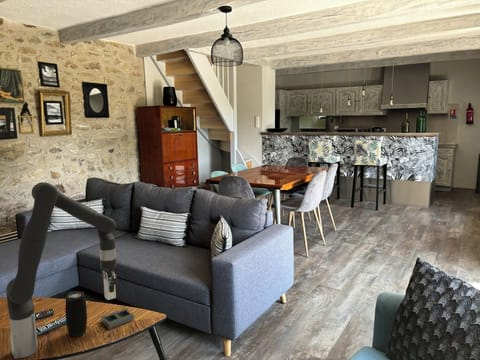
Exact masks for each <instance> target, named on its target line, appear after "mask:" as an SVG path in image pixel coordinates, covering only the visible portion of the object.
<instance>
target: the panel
mask: <svg viewBox="0 0 480 360" xmlns="http://www.w3.org/2000/svg"><path fill="white" fill-rule="evenodd" d="M133 321H135V314H133V313H131V312H130V311H129V309H127V308H122V309H119V310H116V311H114V312H110V313H108V314H104V315H102V316H100V322H101V323H102V324H103V325H104V326H105V327H106V328H107V329H109V330H112V329H114V328H116V327H119V326H122V325H125V324H127V323H129V322H133Z"/></svg>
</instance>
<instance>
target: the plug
mask: <svg viewBox="0 0 480 360" xmlns="http://www.w3.org/2000/svg"><path fill="white" fill-rule="evenodd" d="M109 279H111V278H109ZM110 282H111V281H110ZM116 283H118V282H117V281H116ZM103 291H104V298H105V299H106V300H107V301H109V300H113V299H116V298H117V294H116V293H117V292H116V284H115V285H114V292H111V293H110V292H109V281H107V278H104V280H103Z"/></svg>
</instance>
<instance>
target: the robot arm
mask: <svg viewBox="0 0 480 360" xmlns="http://www.w3.org/2000/svg"><path fill="white" fill-rule="evenodd" d="M31 196H32V199H33V200H34V202H33V208H32V212H31V215H30V219H29V220H28V222H27V224H26V225H25V227H24V230H23V232H22V235H21V239H20V243H19V247H18V256H17V257H18V259H17V272H16V275H15V277H14V278H12V279H11V280H9V282H8V283H7V285H6V289H5V291H6V293H5V294H6V302H7V303H6V304H7V309H8V310H7V311H8V315H9V323H10V324H9V325H10V333H9V335H10V337H9V338H10V349H11V355H12V356H13V359H14V360H16V359H23V358H24V359H25V358H27V357H30V356H32V355H34V354H35V353H36V352H37V351H38V339H37V328H36V327H37V326H36V313H35V305H34V302H33V295H34V292H35V286H36V279H37V273H38V268H39V265H40V262H41V259H42V255H43V253H44V249H45V245H46V242H47V241H46V240H47V236H48V231H49V228H50V221H51V217H52V214H53V211H54V208H57V209H59V210H61V211H64V212H65V213H66V214H68V215H70V216H71V217H73V218H75V219H77V220H79V221H81V222H83V223H85V224H87V225H90V226H92V227H94V228H96V229H97V234H98V235H97V236H98V238H99V264H100V265H99V266H100V269H101V270H100V271H101V276H102V280H103V281H104V278H107V281H109V292H110V293H111V292H114V285H115V286H116V285H117V282H116V281H117V280H118V274H117V273H115V267H116V268H117V266H118V265H117V250H116V239H115V237H114V235H113V232H114V231H116V228H117V223H116V220H114V219H112V218H111V217H110V216H106V215H104V214H102V213H100V212H98V211H97V210H96V209H94V208H91V206H87V205H86V204H84V203H82V202H80V201H77V200H74V199H72V198H71V197H69V196H67V195H65V194H63V193H62V192H60V191H59V190H58V188H57V187H56V186H55V185H54V184H52V183H49V182H45V181H43V182H38V183H36V184H35V185H33V187H32V189H31ZM109 278H111V279H109ZM110 281H111V282H110Z"/></svg>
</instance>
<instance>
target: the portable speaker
mask: <svg viewBox="0 0 480 360" xmlns="http://www.w3.org/2000/svg"><path fill="white" fill-rule="evenodd" d="M64 309H65V310H64V311H65V324H66V330H67V333H68V336H73V337H75V338H79V337H82V336H83V335H84V334H85V332H86V331H87V328H88V327H87V326H88V324H87V323H88V313H87V312H88V311H87V301H86V297H85V293H84V291H76V290H75V291H74V290H73V291H71V292H68V293H67V295H66V297H65V308H64Z"/></svg>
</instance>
